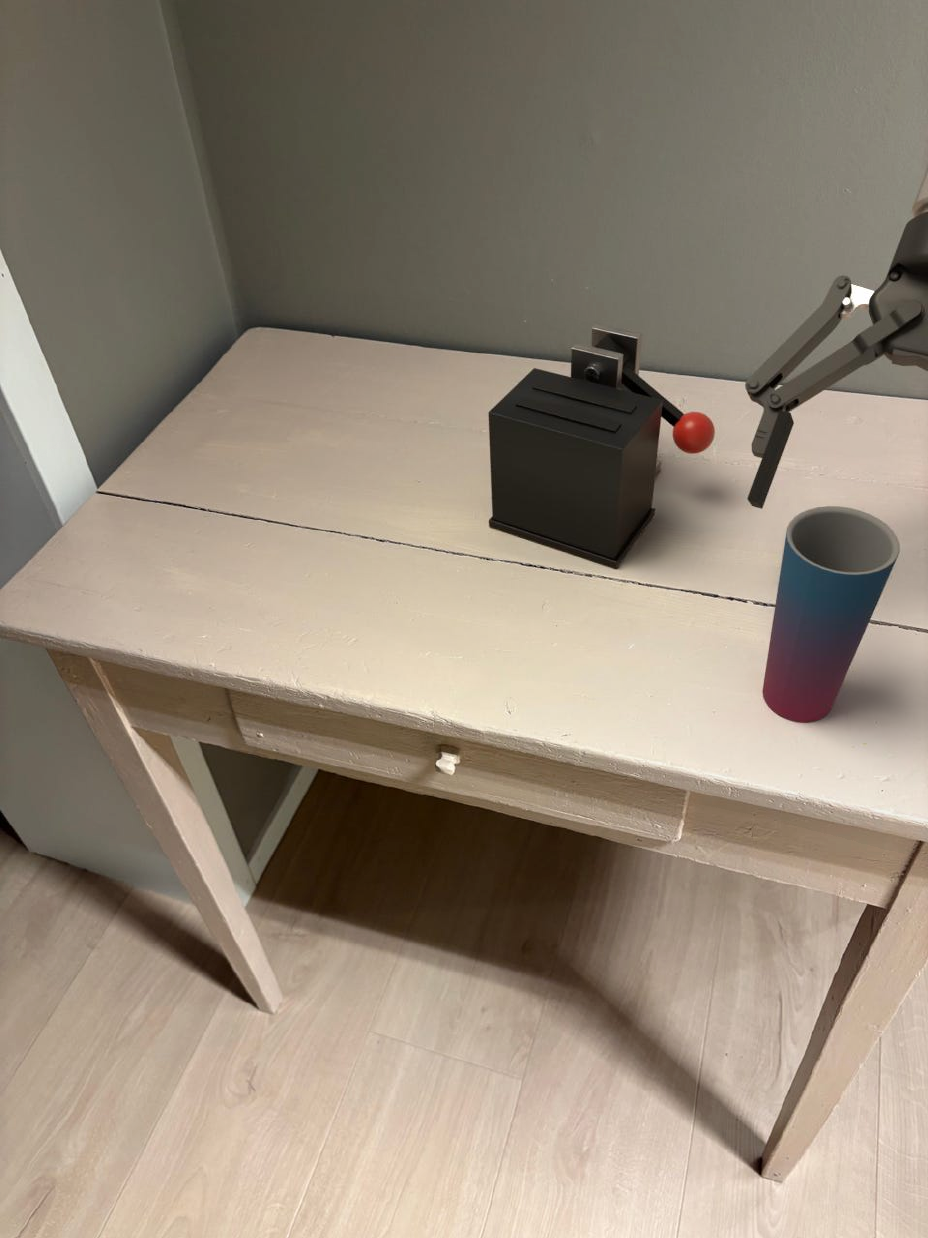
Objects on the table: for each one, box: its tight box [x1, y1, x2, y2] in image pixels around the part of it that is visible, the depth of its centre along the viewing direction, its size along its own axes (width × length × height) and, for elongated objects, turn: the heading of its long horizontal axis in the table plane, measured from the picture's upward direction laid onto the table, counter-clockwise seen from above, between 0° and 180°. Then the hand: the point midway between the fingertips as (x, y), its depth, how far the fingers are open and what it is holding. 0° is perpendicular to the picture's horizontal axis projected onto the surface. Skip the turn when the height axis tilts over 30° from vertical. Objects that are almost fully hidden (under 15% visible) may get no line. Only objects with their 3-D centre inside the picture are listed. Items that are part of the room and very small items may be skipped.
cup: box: [761, 505, 901, 723], centre depth 66 cm, size 7×7×15 cm
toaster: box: [487, 367, 663, 570], centre depth 83 cm, size 13×8×12 cm
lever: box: [594, 335, 716, 455], centre depth 84 cm, size 13×4×4 cm
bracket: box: [570, 323, 662, 477], centre depth 87 cm, size 10×6×14 cm, turn 59°
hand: (851, 532), depth 65 cm, fingers open, 13 cm apart
